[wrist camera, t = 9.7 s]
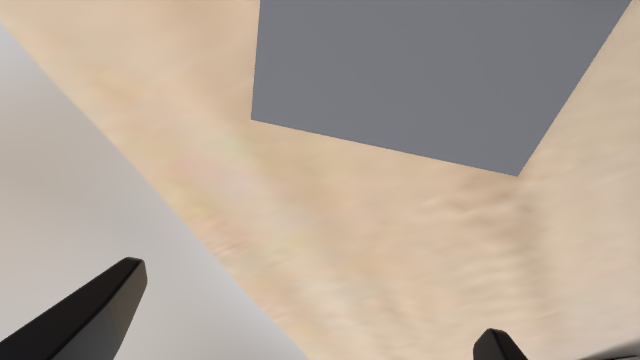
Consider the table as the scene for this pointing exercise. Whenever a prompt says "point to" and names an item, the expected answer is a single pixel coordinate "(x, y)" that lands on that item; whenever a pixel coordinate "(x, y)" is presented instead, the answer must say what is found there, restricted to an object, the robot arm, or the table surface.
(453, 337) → the table surface
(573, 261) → the table surface
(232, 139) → the table surface
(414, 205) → the table surface
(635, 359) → the coffee box
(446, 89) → the rubber mat
